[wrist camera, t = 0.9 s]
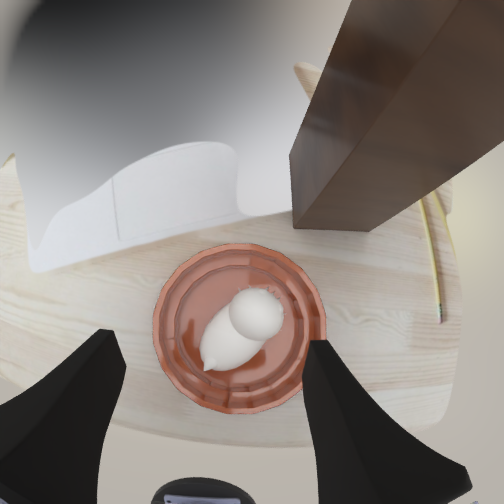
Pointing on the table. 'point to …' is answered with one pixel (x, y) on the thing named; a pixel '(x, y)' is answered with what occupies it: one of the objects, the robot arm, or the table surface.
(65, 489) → the robot arm
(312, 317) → the bowl
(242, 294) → the toy creature
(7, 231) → the table surface
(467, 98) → the taupe notched tower
